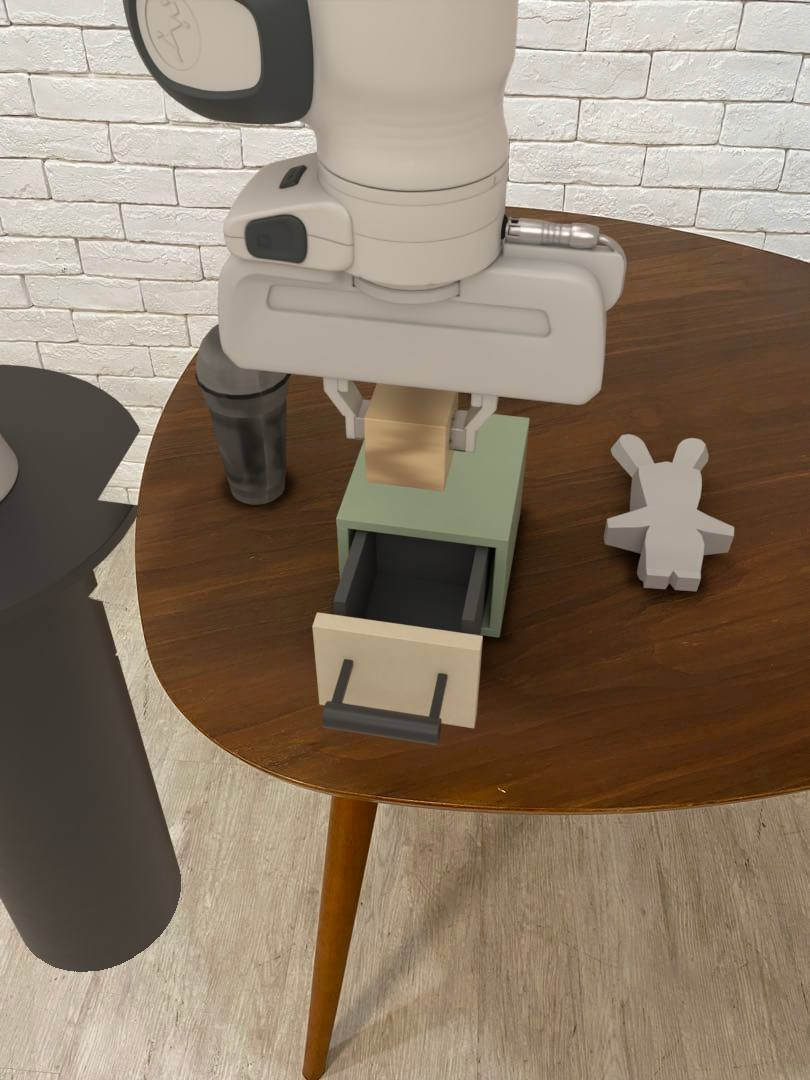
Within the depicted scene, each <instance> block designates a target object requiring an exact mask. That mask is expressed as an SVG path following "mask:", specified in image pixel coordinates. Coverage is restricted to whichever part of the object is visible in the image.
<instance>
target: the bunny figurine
mask: <svg viewBox="0 0 810 1080" xmlns="http://www.w3.org/2000/svg"><path fill="white" fill-rule="evenodd" d="M610 453H611V456H612V457H613V458H614V459H615V460H616V461H617V462H618V463H619V465H620V466H621V467H622V468H623V469H624V470H625V471H626V473H627V474H628V475H629V476H630V477H631V485H630V499H629V500H630V502H629V511H628V512H626V513H625V512H624V513H622V514H618V515H615V516H612V517H609V518H607V519H606V522H605V528H604V531H603V536H602V537H603V543H604V545H606V546H610V547H614V548H618V549H622V550H625V551H629V552H633V553H637V554H640V557H639V560H638V564H637V570H636V575H637V577H638V579H639V581H641V582H642V586H643V588H644V589H657V590H666V589H667V588H668V586H669V585H670V586H671V587H672V588H673V590H674V591H683V592H684V591H685V592H697V591H698V588H699V586H700V582H701V580H702V566H703V562H704V561H703V560H704V556H708V555H719V554H725V553H729V551H730V549H731V545H732V543H733V540H734V538H735V526H733V525H730V524H728V523H726V522H724V521H721V520H720V519H717V518H715V517H713V516H712V515H711V516H710V515H708V514H706V513H704V512H702V511H700V510H699V509H698V507H699V503H700V500H701V495H702V490H703V489H702V487H703V479H702V474H701V471H702V470H703V469H704V467H705V466H706V464H707V463H708V462H709V457H710V456H709V451H708V447H707V445H706V443H705V442H704V441H703V440H702V439H699V438H695V437H688V438H685V439H682V440H681V442H680V443H679V444H678V445H677V448H676V451H675V453H674V455H673V456H674V457H673V458H672V462H671V461H662V462H661V461H660V462H656V463H655V462H654V460H653V458H652V455H651V454H650V452H649V450H648V448H647V446H646V443H645V442H644V441H643V440H642V439H641V438H640V437H639V436H636V435H635V434H630V433H627V434H622V435H621V436H620V437H619V438H618V439H617V440H616V442H615V443H614V444H613V445H612V447H611V448H610Z"/></svg>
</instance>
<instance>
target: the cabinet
mask: <svg viewBox="0 0 810 1080" xmlns="http://www.w3.org/2000/svg"><path fill="white" fill-rule="evenodd" d="M530 421H531V419H530V417H524V416H515V415H505V414H497V413H493V414H492V415H491V416H490V417H489V419H488V420H487V421H486V422H485V423H484V424H483V425H482V427H481V428H480V429H479V431H478V439H477V444H476V448H475V453H468V452H461V451H454V455H453V459H452V463H451V467H450V471H449V475H448V478H447V482H446V486H445V490H444V491H436V490H428V489H420V488H412V487H403V486H395V485H387V484H379V483H371V482H367V481H366V463H365V440H362V441H363V442H362V445H361V447H360V450H359V453H358V456H357V458H356V461H355V464H354V467H353V470H352V473H351V476H350V478H349V481H348V484H347V486H346V490H345V492H344V494H343V498H342V501H341V503H340V506H339V509H338V512H337V515H336V518H335V521H336V522H335V523H336V535H337V552H338V569H339V570H338V571H339V580H340V579H341V576H342V573H343V570H344V567H345V564H346V561H347V558H348V555H349V552H350V549H351V546H352V543H353V539H354V536H355V533H356V530H364V531H372V532H379V533H387V534H395V535H402V536H410V537H418V538H425V539H433V540H440V541H448V542H456V543H463V544H471V545H479V546H486V547H492V555H491V568H490V581H489V590H488V596H487V601H486V607H485V612H484V618H483V623H482V628H481V634H480V636H483V637H484V636H485V637H493V638H500V637H501V631H502V625H503V619H504V612H505V607H506V602H507V601H506V600H507V595H508V588H509V583H510V577H511V572H512V571H511V570H512V565H513V558H514V552H515V547H516V541H517V534H518V529H519V523H520V517H521V510H522V500H523V491H524V489H523V488H524V480H525V468H526V459H527V448H528V442H529V441H528V439H529V431H530Z"/></svg>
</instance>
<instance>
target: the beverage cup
mask: <svg viewBox="0 0 810 1080" xmlns="http://www.w3.org/2000/svg"><path fill="white" fill-rule="evenodd" d="M194 373H195V375H194V377H195V380H196V384H197V386H199V388H200V392H201V394H202V396H203V399H204V402H205V404H206V405H207V408H208V412H209V415H210V419H211V423H212V426H213V427H212V428H213V431H214V434H215V440H216V442H217V446H218V451H219V454H220V457H221V462H222V465H223V469H224V473H225V475H226V479H227V482H228V485H229V488H230V492H231V494H232V496H233V497H234V498H235V500H237V501H239V502H241V503H243V504H247V505H251V506H259V505H264V504H269V503H271V502H273V501H275V500H277V499H278V498H279V497H281V496H282V495H283V493H284V491H285V488H286V474H287V473H286V472H287V409H288V408H287V407H288V404H287V403H288V401H287V400H288V395H289V387H290V379H291V376H292V374H289V373H279V372H270V371H261V370H251V369H243V368H239V367H238V366H236V365H235V364H234V363H233V362H232V361H231V360H230V358H229V357H228V356H227V355H226V354H225V353H224V352H223V350H222V346H221V341H220V334H219V323H217V324H215V325H214V326H213V327H211V328H210V330H209V331H208V332H207V333H206V335H205V336H204V337H203V338H202V340H201V342H200V344H199V347H198V350H197V355H196V361H195V372H194Z"/></svg>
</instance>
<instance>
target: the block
mask: <svg viewBox="0 0 810 1080" xmlns="http://www.w3.org/2000/svg"><path fill="white" fill-rule="evenodd" d="M370 400H371V401H370V403H369V406H368V409H367V412H366V414H365V417H364V435H365V463H366V481H367V482H371V483H379V484H387V485H395V486H403V487H412V488H420V489H428V490H436V491H444V490H445V486H446V482H447V478H448V475H449V471H450V467H451V463H452V459H453V455H454V450H449V443H450V426H451V423H452V420H453V415H454V411H455V410H459V392H454V391H445V390H435V389H426V388H417V387H408V386H398V385H389V384H380V383H376V385H375V387H374V390H373V393H372V396H371V398H370Z"/></svg>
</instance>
